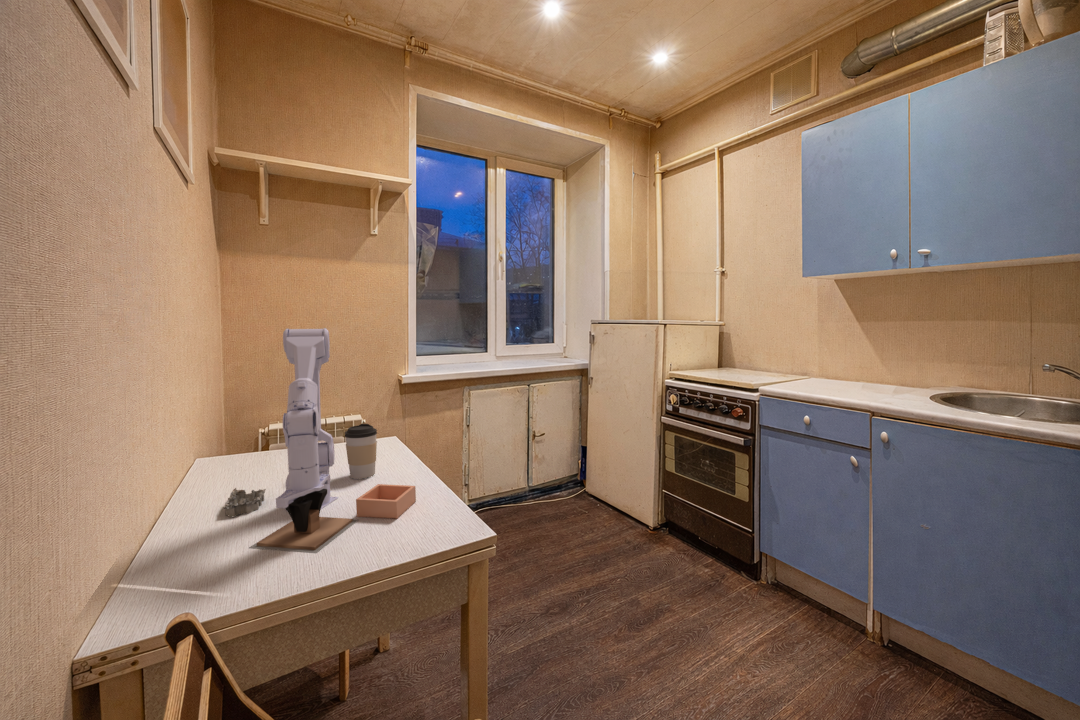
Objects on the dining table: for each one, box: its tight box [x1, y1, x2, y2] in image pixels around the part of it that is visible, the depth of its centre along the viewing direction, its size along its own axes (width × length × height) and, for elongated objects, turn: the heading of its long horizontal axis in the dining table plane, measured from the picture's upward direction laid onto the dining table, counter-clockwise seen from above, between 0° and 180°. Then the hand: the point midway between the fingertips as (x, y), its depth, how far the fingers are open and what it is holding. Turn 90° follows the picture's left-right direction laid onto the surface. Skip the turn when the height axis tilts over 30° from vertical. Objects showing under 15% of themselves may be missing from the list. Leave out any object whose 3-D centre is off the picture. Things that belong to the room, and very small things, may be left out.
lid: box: [256, 509, 354, 550], centre depth 95 cm, size 13×13×5 cm
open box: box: [355, 483, 417, 520], centre depth 107 cm, size 10×10×4 cm
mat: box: [248, 518, 359, 554], centre depth 95 cm, size 15×15×1 cm
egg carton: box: [223, 487, 267, 518], centre depth 110 cm, size 11×8×4 cm
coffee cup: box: [344, 423, 378, 480], centre depth 132 cm, size 9×9×15 cm
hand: (307, 527), depth 95 cm, fingers closed on lid, 3 cm apart
